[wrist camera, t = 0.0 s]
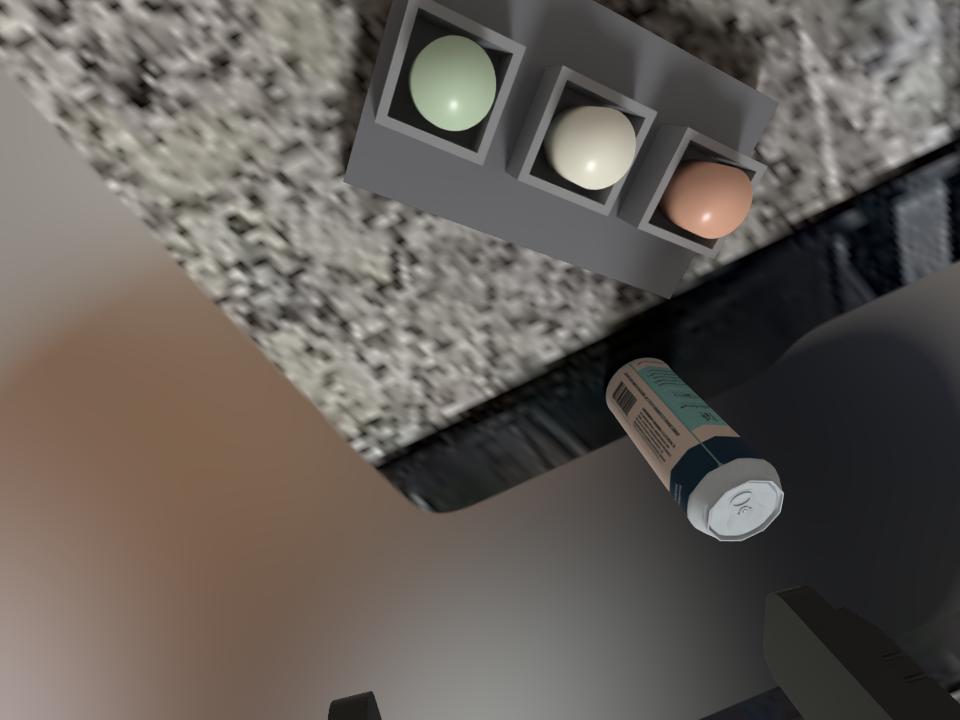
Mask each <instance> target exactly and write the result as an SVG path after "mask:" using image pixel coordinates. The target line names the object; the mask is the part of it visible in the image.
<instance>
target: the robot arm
mask: <svg viewBox="0 0 960 720" xmlns="http://www.w3.org/2000/svg"><path fill="white" fill-rule="evenodd" d="M763 650H764V656H765V659H766V662H767V665H768V667H769V669H770V671H771V673H772V675H773V677H774V679H775V680H776V682H777V683H778V684H779V686H780V687H781V688H782V690H783V691H784V692H785V694H786V695H787V696H788V698H789V699H790V700H791V702H792V703H793V704H794V706H795V707H796V708H797V710H798V711H799V712H800V714H801V715H802V716H803V718H804V719H805V720H960V704H959V703H958V702H957V701H956V700H955V699H954V698H953V697H952V696H951V695H950V694H949V693H948V692H947V691H945V690H944V689H943V688H942V687H941V686H940V685H939V684H938V683H937V682H936V681H935V680H934V679H933V678H932V677H928V676H927V675H926V673H925V671H924V670H923V669H922V668H921V667H920V666H919V665H918V664H917V663H916V662H915V661H913V660H912V659H911V658H910V657H909V656H906V655H905V654H904V653H903V650H902V649H901V648H900V647H899V646H897V645H896V644H895V643H894V642H893V641H892V640H891V639H890V638H889V637H888V636H887V635H886V634H885V633H883V631H882V630H880V629H879V628H878V627H877V626H876V625H874V624H873V623H871V622H869V621H867V620H866V619H864V618H862V617H861V616H859V615H857V614H855V613H854V612H852V611H850V610H849V609H847V608H845V607H843V608H839V609H833V607H832V606H831V605H830V604H829V603H828V602H827V601H825V600H824V599H823V597H822V596H821V595H819V594H818V593H817V592H816V591H815V590H814V589H812V588H811V587H809V586H799V587H795V588H791V589H787V590H783V591H779V592H775V593H771V594H769V595H768V596H767V598H766V609H765V626H764V640H763ZM328 720H382V719H381V716H380V712H379V709H378V706H377V703H376V700H375V696H374V694H373V692H372V691H370V692H366V693H361V694H357V695H353V696H349V697H345V698H341V699H337V700H333V701H332V702H331V705H330V708H329V714H328Z"/></svg>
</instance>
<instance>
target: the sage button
mask: <svg viewBox="0 0 960 720" xmlns="http://www.w3.org/2000/svg"><path fill="white" fill-rule="evenodd" d="M408 86H409V93H410V97H411V99H412V102H413V104H414V106H415V107H416V109H417V110H418V112H419V113H420V114H421V115H422V116H423V117H424V118H425V119H427V120H428V121H430V122H431V123H433V124H434V125H435V126H437V127H439V128H442V129H445V130H449V131H461V130H465V129H468V128H471V127H473V126H474V125H476V124H477V123H479V122H480V121H481V120H482V119H483V118H484V117H485V116H486V114H487V113H488V111H489V110H490V108H491V106H492V103H493V101H494V97H495V92H496V77H495V71H494V68H493V65H492V63H491V60H490V59H489V57H488V55H487V54H486V52H485V51H484V50H483V49H482V48H481V47H480V46H479V45H478V44H477V43H475V42H474V41H472V40H470V39H468V38H465V37H462V36H454V35H452V36H445V37H441V38H439V39H436V40H435V41H433V42H431V43H430V44H429V45H428V46H426V47H425V48H424V49H423V50H421V51H420V53H419V54H418V55H417V56H416V58H415V59H414V61H413V63H412V65H411V68H410V72H409V79H408Z"/></svg>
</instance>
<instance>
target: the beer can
mask: <svg viewBox="0 0 960 720" xmlns="http://www.w3.org/2000/svg"><path fill="white" fill-rule="evenodd" d="M606 402H607V405H608V407H609V409H610V410H611V411H612V413H613V414H614V415H615V417H616V418H617V420H618V421H619V422H620V424H621V425H622V427H623V428H624V429H625V431H626V432H627V433H628V435H629V436H630V438H631V439H632V440H633V442H634V443H635V445H636V446H637V447H638V449H639V450H640V452H641V453H642V454H643V456H644V457H645V459H646V460H647V461H648V463H649V464H650V466H651V467H652V468H653V470H654V471H655V473H656V474H657V475H658V477H659V478H660V479H661V481H662V482H663V483H664V485H665V486H666V488H667V489H668V490H669V492H670V493H671V495H672V496H673V498H674V499H675V500H676V502H677V503H678V505H679V506H680V507H681V509H682V510H683V512H684V513H685V514H686V516H687V517H688V518H689V520H690V522H691V523H692V525H694V527H696V528H697V529H699V530H700V531H702V532H704V533H706V534H708V535H711V536H713V537H715V538H717V539H718V540H719V541H742V540H744V539H746V538H748V537H750V536H753V535H755V534H757V533H759V532H761V531H763V530H765V528H766V527H767V526H768V525H769V524H770V523H771V522H772V521H773V520H774V519H775V518H776V517H777V515H778V514H779V513H780V511H781V507H782V501H783V496H784V493H783V492H782V488H781V484H780V480H779V477H778V474H777V472H776V470H775V469H774V467H773V466H771V464H769V463H768V462H766V461H765V460H763V459H762V458H761V457H760V456H759V455H758V454H757V453H756V452H755V451H754V450H753V449H752V448H751V447H750V446H749V445H748V444H747V443H746V442H745V441H744V440H743V439H742V438H741V437H740V436H739V435H738V434H737V433H736V432H735V431H733V430H732V429H731V428H730V427H729V426H728V425H727V424H726V423H725V422H724V421H723V420H722V419H721V418H720V417H719V416H718V415H717V414H716V413H715V412H714V411H713V410H712V409H711V408H710V407H709V406H708V405H707V404H706V403H705V402H704V401H703V400H702V399H701V398H700V397H699V396H697V395H696V394H695V393H694V392H693V391H692V390H691V389H690V388H689V387H688V386H687V385H686V384H685V383H684V382H683V381H682V380H681V379H680V378H679V377H678V376H677V375H676V374H675V373H674V372H673V371H672V370H671V368H670V367H669V366H668V365H667V364H666V363H665V362H663V361H662V360H659V359H656V358H640V359H636V360H633V361H631V362H629V363H627V364H625V365H624V366H623V367H621V368H620V369H619V370H618V371H617V372H616V373H615V374H614V376H613V377H612V379H611V380H610V382H609V384H608V387H607V390H606Z"/></svg>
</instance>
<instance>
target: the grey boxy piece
mask: <svg viewBox="0 0 960 720" xmlns="http://www.w3.org/2000/svg"><path fill="white" fill-rule="evenodd" d="M452 35H454V36H462V37H465V38H468V39H470V40H472V41H474V42H475V43H477V44H478V45H479V46H480V47H481V48H482V49H483V50H484V51H485V52H486V54H487V55H488V57H489V59H490V60H491V63H492V65H493V68H494V71H495V77H496V92H495V97H494V101H493V103H492V106H491V108H490V110H489V111H488V113H487V114H486V116H485V117H484V118H483V119H482V120H481V121H480V122H479V123H477V124H476V125H474V126H473V127H471V128H468V129H465V130H461V131H449V130H445V129H442V128H439V127H437V126H435V125H434V124H433V123H431V122H430V121H428V120H427V119H425V118H424V117H423V116H422V115H421V114H420V113H419V112H418V110H417V109H416V107H415V106H414V104H413V102H412V99H411V97H410V93H409V86H408V79H409V72H410V68H411V65H412V63H413V61H414V59H415V58H416V56H417V55H418V54H419V53H420V51H421V50H423V49H424V48H425V47H426V46H428V45H429V44H430V43H431V42H433V41H435V40H436V39H439V38H441V37H445V36H452ZM778 104H779V102H777V101H775V100H773V99H771V98H769V97H768V96H766V95H764V94H762V93H760V92H759V91H757V90H755V89H753V88H751V87H750V86H748V85H746V84H744V83H742V82H740V81H739V80H737V79H735V78H733V77H731V76H730V75H728V74H726V73H724V72H722V71H721V70H719V69H717V68H715V67H713V66H711V65H710V64H708V63H706V62H704V61H702V60H701V59H699V58H697V57H695V56H693V55H692V54H690V53H688V52H686V51H684V50H682V49H681V48H679V47H677V46H675V45H673V44H672V43H670V42H668V41H666V40H664V39H663V38H661V37H659V36H657V35H655V34H653V33H652V32H650V31H648V30H646V29H644V28H643V27H641V26H639V25H637V24H635V23H634V22H632V21H630V20H628V19H626V18H624V17H623V16H621V15H619V14H617V13H615V12H614V11H612V10H610V9H608V8H606V7H604V6H603V5H601V4H599V3H597V2H595V1H594V0H392V3H391V7H390V11H389V15H388V18H387V22H386V26H385V29H384V33H383V37H382V40H381V44H380V48H379V52H378V55H377V59H376V63H375V66H374V70H373V74H372V77H371V81H370V85H369V89H368V92H367V96H366V100H365V103H364V107H363V111H362V114H361V118H360V122H359V126H358V129H357V133H356V137H355V140H354V144H353V148H352V151H351V155H350V159H349V163H348V166H347V170H346V174H345V177H344V181H343V182H345V183H348V184H351V185H353V186H356V187H359V188H362V189H364V190H367V191H370V192H373V193H376V194H378V195H381V196H384V197H387V198H389V199H392V200H395V201H398V202H401V203H403V204H406V205H409V206H412V207H414V208H417V209H420V210H423V211H426V212H428V213H431V214H434V215H437V216H439V217H442V218H445V219H448V220H451V221H453V222H456V223H459V224H462V225H464V226H467V227H470V228H473V229H476V230H478V231H481V232H484V233H487V234H489V235H492V236H495V237H498V238H501V239H503V240H506V241H509V242H512V243H514V244H517V245H520V246H523V247H525V248H528V249H531V250H534V251H537V252H539V253H542V254H545V255H548V256H550V257H553V258H556V259H559V260H562V261H564V262H567V263H570V264H573V265H575V266H578V267H581V268H584V269H587V270H589V271H592V272H595V273H598V274H600V275H603V276H606V277H609V278H612V279H614V280H617V281H620V282H623V283H625V284H628V285H631V286H634V287H637V288H639V289H642V290H645V291H648V292H650V293H653V294H656V295H659V296H662V297H664V298H667V299H670V298H671V296H672V294H673V292H674V291H675V289H676V287H677V285H678V283H679V282H680V280H681V278H682V276H683V274H684V273H685V271H686V269H687V267H688V265H689V264H690V262H691V260H692V258H693V257H694V255H695V253H696V252H697V253H700V254H702V255H705V256H707V257H710V258H712V259H715V257H716V255H717V253H718V252H719V250H720V248H721V247H722V245H723V243H724V241H725V240H726V238H727V236H728V234H727V235H725V236H722V237H719V238H714V239H708V238H704V237H701V236H699V235H697V234H694V233H692V232H690V231H688V230H686V229H684V228H682V227H679V226H677V225H675V224H673V223H671V222H669V221H668V220H666V219H665V218H664V217H663V215H662V214H661V212H660V209H659V205H658V203H659V201H660V199H661V197H662V195H663V193H664V191H665V189H666V187H667V185H668V183H669V181H670V179H671V177H672V175H673V173H674V171H675V169H676V167H677V165H678V164H679V163H681V162H683V161H686V160H689V159H700V160H704V161H708V162H713V163H717V164H721V165H726V166H730V167H734V168H737V169H740V170H741V171H743V172H744V173H745V174H746V175H747V176H748V178H749V179H750V182H751V184H752V190H753V191H754V189H755V188H756V186H757V184H758V182H759V181H760V179H761V177H762V175H763V174H764V172H765V170H766V168H767V166H765V165H763V164H761V163H759V162H757V161H755V160H753V159H751V158H749V156H750V155H751V153H752V151H753V149H754V147H755V146H756V144H757V142H758V140H759V138H760V137H761V135H762V133H763V131H764V129H765V128H766V126H767V124H768V122H769V121H770V119H771V117H772V115H773V113H774V112H775V110H776V108H777V106H778ZM576 105H586V106H596V107H606V108H612V109H615V110H617V111H619V112H621V113H622V114H623V115H625V116H626V117H627V118H628V120H629V121H630V123H631V124H632V127H633V129H634V132H635V137H636V150H635V155H634V158H633V161H632V163H631V165H630V167H629V169H628V170H627V172H626V173H625V174H624V176H623V177H622V178H621V179H620V180H619V181H617V182H616V183H614V184H613V185H611V186H609V187H606V188H603V189H597V190H591V189H586V188H583V187H581V186H579V185H577V184H575V183H573V182H571V181H569V180H567V179H565V178H563V177H561V176H559V175H558V174H556V173H555V172H554V171H553V170H552V169H551V168H550V166H549V164H548V163H547V160H546V157H545V153H544V139H545V135H546V132H547V129H548V127H549V125H550V123H551V122H552V120H553V119H554V118H555V117H556V116H557V115H558V114H559V113H560V112H562V111H563V110H565V109H566V108H569V107H572V106H576Z"/></svg>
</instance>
